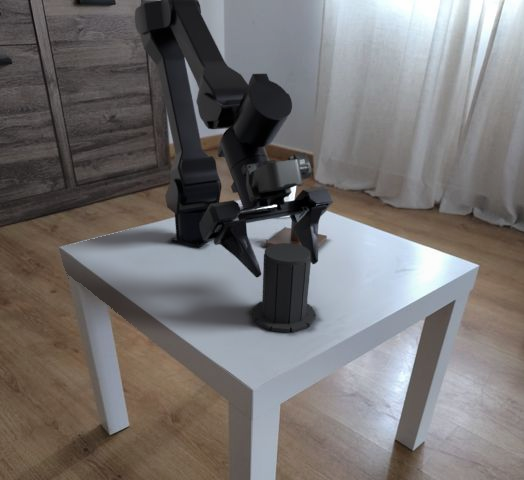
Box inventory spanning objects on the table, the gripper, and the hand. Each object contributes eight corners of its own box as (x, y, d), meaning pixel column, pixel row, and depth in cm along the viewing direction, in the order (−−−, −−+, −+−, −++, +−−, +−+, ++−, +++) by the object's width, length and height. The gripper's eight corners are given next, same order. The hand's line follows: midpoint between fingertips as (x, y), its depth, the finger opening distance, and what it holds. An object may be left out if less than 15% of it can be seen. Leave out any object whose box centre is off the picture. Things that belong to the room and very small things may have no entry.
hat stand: (265, 247, 92) (266, 216, 89) (284, 231, 99) (286, 202, 96) (309, 256, 89) (312, 225, 86) (326, 240, 96) (329, 210, 92)
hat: (241, 322, 70) (241, 257, 64) (269, 295, 77) (272, 234, 71) (300, 339, 67) (305, 272, 61) (323, 309, 73) (330, 246, 68)
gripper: (204, 136, 57) (248, 258, 56) (332, 125, 65) (374, 232, 64) (183, 187, 67) (220, 291, 66) (296, 172, 75) (331, 265, 74)
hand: (288, 269), depth 67 cm, fingers open, 9 cm apart
